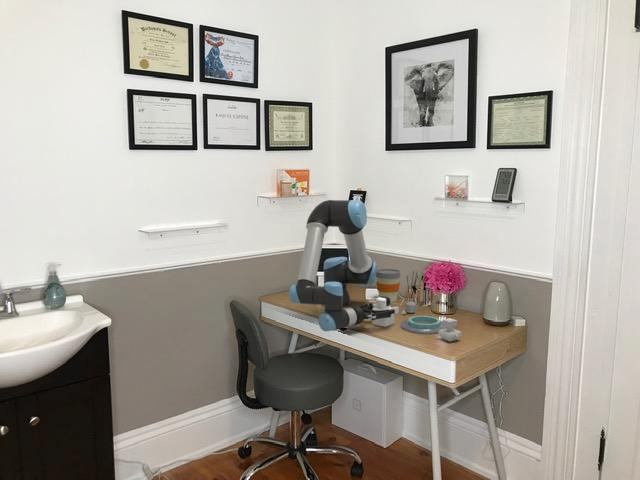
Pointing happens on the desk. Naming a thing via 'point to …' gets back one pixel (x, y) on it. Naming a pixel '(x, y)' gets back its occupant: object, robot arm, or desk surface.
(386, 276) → the reusable coffee cup
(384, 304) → the medicine bottle
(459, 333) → the stamp
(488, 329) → the desk surface
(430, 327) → the ring dish
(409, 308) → the reed diffuser
